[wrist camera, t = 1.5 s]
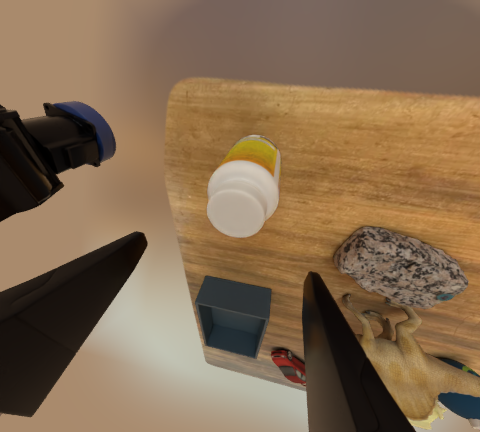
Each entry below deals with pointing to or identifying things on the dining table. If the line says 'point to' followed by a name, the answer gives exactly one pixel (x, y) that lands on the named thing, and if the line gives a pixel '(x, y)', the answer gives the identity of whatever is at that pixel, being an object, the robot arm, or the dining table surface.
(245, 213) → the supplement bottle
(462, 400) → the christmas ornament
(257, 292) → the storage tote
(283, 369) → the toy car
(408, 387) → the dinosaur figurine
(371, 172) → the dining table surface
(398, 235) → the rock
